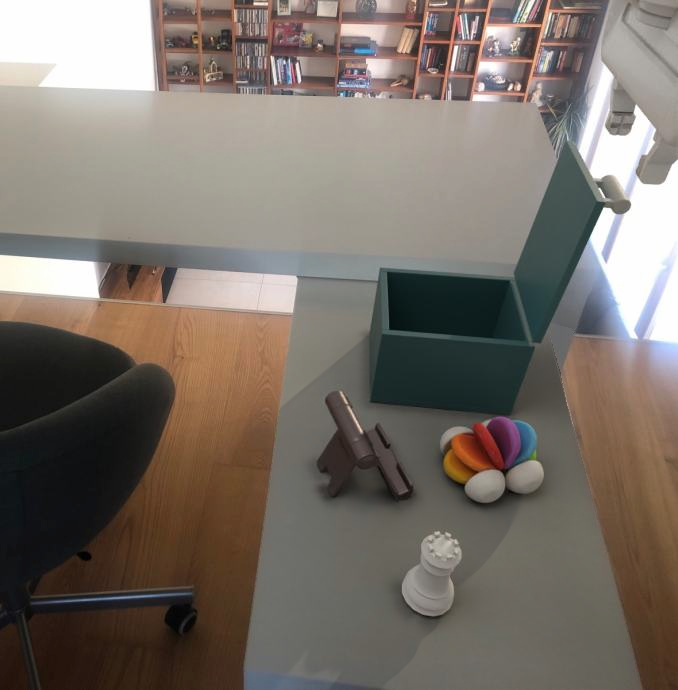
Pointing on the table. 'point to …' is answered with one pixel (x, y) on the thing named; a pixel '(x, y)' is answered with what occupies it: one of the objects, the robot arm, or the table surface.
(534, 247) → the lid
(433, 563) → the rook chess piece
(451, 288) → the teal hinged box
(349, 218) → the table surface
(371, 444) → the tablet stand
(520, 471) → the multicoloured rounded lobed piece
